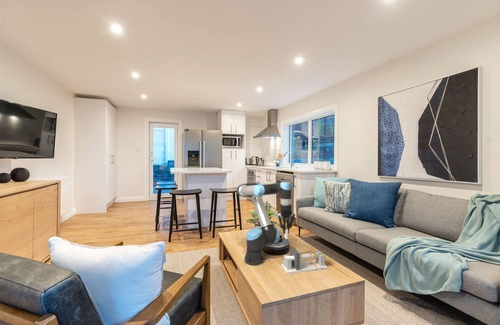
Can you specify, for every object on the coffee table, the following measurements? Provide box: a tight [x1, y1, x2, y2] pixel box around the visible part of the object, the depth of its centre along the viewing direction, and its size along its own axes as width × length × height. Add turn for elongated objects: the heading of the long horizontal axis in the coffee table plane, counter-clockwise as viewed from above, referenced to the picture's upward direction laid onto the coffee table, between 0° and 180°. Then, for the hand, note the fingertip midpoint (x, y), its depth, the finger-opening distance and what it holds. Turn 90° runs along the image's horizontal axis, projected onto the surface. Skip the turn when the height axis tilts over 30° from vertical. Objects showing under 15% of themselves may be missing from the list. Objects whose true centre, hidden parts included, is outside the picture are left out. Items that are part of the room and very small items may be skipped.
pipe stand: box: [280, 251, 329, 275], centre depth 165 cm, size 30×12×9 cm, turn 102°
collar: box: [289, 246, 301, 269], centre depth 163 cm, size 2×11×11 cm, turn 12°
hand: (286, 238), depth 161 cm, fingers closed
